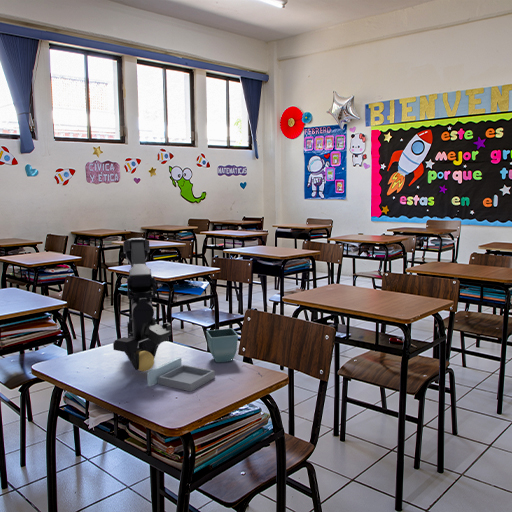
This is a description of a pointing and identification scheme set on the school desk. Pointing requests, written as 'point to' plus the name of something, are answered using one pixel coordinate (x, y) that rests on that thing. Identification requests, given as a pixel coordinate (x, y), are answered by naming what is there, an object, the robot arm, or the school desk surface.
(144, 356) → the ball
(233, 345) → the flower pot
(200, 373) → the dish
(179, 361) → the wall
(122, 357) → the school desk surface
